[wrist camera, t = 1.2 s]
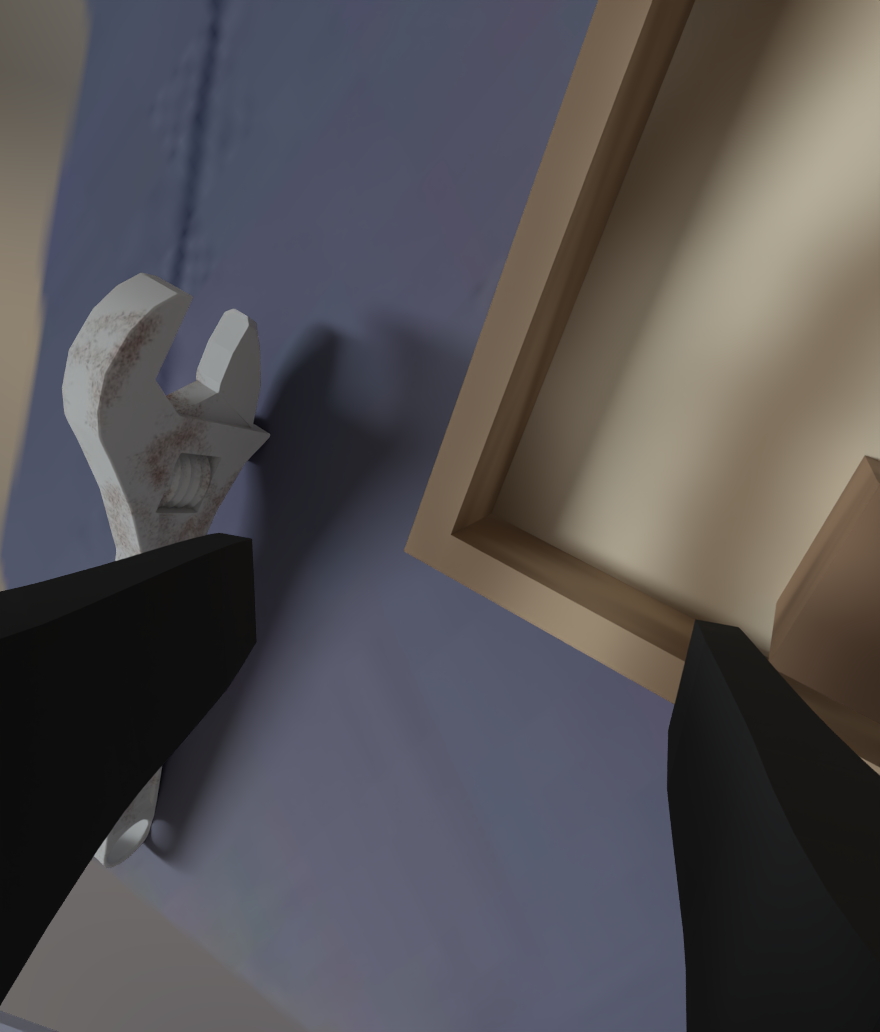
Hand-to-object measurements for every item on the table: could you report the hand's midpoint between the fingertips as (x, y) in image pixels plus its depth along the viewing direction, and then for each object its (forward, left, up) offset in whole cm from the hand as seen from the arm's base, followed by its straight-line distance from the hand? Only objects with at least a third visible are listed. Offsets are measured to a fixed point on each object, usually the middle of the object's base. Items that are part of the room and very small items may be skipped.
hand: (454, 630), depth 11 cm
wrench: (+15, +14, -13) cm, 24 cm away
